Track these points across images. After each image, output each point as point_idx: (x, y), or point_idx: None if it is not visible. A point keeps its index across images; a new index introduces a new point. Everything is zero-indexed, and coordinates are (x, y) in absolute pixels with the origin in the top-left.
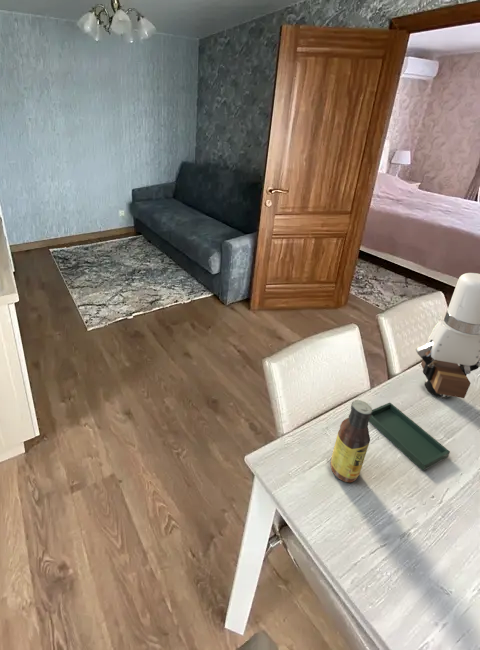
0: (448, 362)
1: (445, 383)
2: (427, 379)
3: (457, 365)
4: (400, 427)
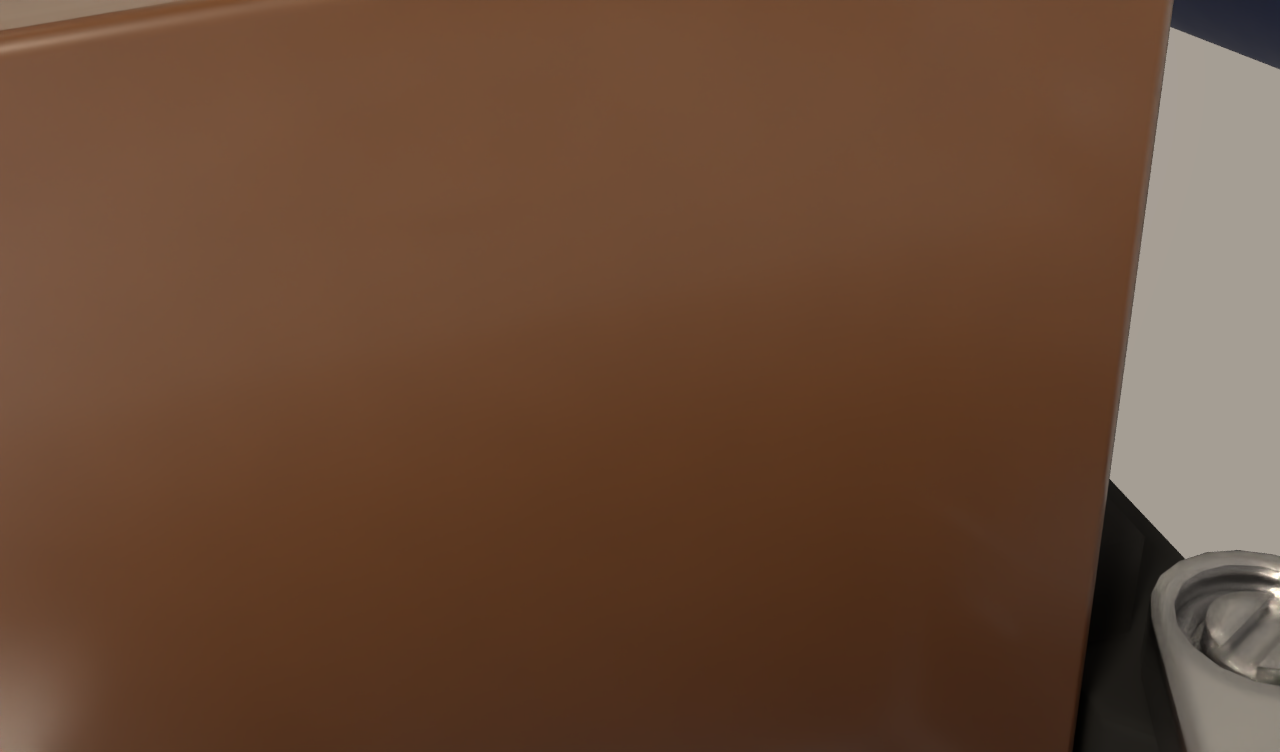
0: (723, 737)
1: None
2: None
3: (1030, 735)
4: None
